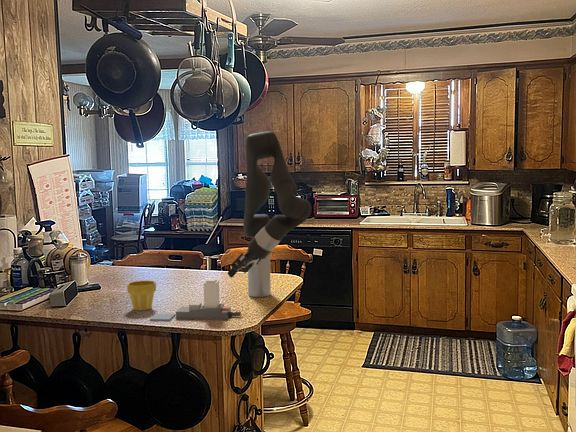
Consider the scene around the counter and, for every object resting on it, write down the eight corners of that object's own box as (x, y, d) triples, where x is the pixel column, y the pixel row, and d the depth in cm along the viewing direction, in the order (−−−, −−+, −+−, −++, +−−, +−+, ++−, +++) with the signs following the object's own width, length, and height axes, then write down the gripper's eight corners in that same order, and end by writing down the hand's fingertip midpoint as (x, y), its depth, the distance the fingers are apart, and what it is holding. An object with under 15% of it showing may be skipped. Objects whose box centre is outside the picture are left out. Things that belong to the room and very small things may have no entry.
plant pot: (131, 305, 218) (130, 280, 217) (158, 304, 219) (157, 279, 218) (125, 312, 208) (124, 286, 207) (154, 311, 208) (153, 285, 208)
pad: (156, 315, 203) (156, 313, 203) (175, 315, 202) (175, 313, 202) (149, 320, 196) (149, 318, 196) (169, 320, 195) (169, 319, 195)
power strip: (181, 313, 205) (181, 301, 205) (242, 314, 203) (242, 301, 203) (176, 318, 198) (175, 306, 198) (238, 319, 196) (238, 306, 196)
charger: (207, 307, 203) (206, 278, 202) (219, 307, 202) (218, 278, 201) (204, 311, 198) (203, 281, 197) (216, 311, 198) (216, 281, 197)
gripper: (268, 231, 195) (241, 261, 201) (246, 236, 182) (217, 268, 189) (282, 247, 193) (254, 277, 199) (260, 253, 180) (231, 285, 187)
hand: (236, 273), depth 194 cm, fingers open, 8 cm apart
